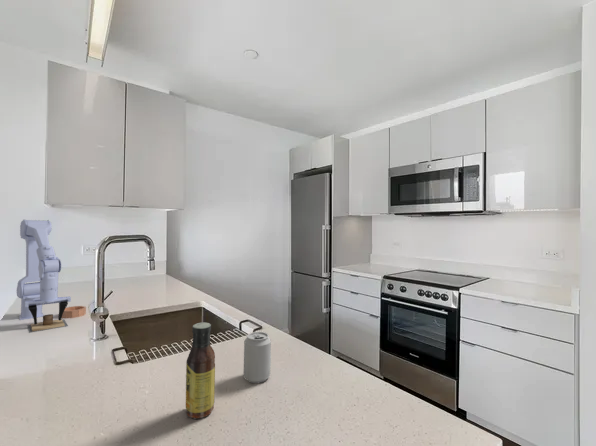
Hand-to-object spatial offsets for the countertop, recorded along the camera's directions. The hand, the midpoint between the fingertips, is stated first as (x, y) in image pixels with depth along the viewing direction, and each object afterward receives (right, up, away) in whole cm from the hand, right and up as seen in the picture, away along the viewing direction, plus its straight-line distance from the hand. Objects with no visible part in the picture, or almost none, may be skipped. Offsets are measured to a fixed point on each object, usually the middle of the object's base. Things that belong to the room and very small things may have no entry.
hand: (47, 321), depth 123 cm
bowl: (-1, -2, +15) cm, 15 cm away
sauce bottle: (+81, -3, -55) cm, 98 cm away
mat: (0, -2, 0) cm, 2 cm away
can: (+92, -3, -39) cm, 100 cm away
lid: (0, -2, 0) cm, 2 cm away
